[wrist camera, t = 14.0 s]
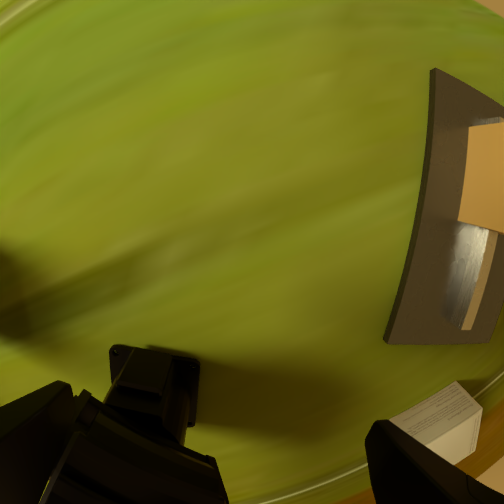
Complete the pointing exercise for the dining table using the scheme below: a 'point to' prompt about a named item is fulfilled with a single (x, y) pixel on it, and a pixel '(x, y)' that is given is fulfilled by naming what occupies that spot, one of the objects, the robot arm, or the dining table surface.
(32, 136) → the dining table surface
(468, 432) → the small box
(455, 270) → the plate
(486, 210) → the block
